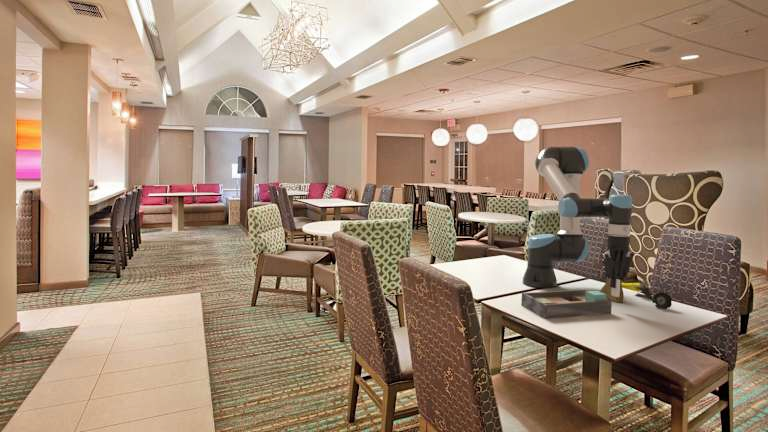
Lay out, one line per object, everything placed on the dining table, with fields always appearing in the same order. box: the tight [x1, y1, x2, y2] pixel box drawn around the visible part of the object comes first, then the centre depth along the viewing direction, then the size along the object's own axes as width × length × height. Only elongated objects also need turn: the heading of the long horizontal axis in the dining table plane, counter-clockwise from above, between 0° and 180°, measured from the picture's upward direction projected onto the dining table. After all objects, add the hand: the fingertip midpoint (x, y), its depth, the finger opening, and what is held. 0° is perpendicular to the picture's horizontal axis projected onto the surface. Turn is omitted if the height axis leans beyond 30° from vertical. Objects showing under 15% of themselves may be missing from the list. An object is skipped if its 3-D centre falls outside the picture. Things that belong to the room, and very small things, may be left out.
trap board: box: [520, 289, 613, 319], centre depth 173 cm, size 16×28×5 cm, turn 103°
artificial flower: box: [631, 278, 673, 310], centre depth 187 cm, size 9×22×10 cm, turn 165°
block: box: [585, 290, 607, 302], centre depth 172 cm, size 5×5×4 cm
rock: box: [599, 278, 625, 303], centre depth 188 cm, size 11×9×10 cm
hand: (615, 295), depth 173 cm, fingers closed
